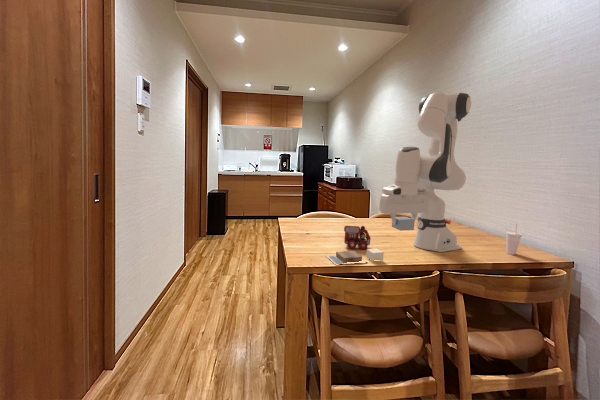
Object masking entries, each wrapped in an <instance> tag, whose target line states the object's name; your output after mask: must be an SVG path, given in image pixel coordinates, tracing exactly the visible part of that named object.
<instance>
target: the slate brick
mask: <svg viewBox="0 0 600 400" xmlns="http://www.w3.org/2000/svg"><path fill="white" fill-rule="evenodd" d="M395 219H396V220H398V224H397V225H393V224H392V223H391V227H392V229H393V228H394V229H396V230H397V231H414V230H415V221H416V219H415V220H414V219H411V217H408V216H395Z"/></svg>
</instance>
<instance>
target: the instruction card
mask: <svg viewBox="0 0 600 400" xmlns="http://www.w3.org/2000/svg"><path fill="white" fill-rule="evenodd" d="M325 258H326V259H328V260H329V259H330V260H331V261H332V262H333V263H334V265H335V264H342V263H343V262H342V261H341V260H340V259H339V258H337V257H336V254H332V255H325ZM330 260H329V261H330ZM331 261H330V262H331ZM332 262H331V263H332ZM333 263H332V264H333ZM343 264H344V263H343Z"/></svg>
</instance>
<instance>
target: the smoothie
mask: <svg viewBox="0 0 600 400" xmlns="http://www.w3.org/2000/svg"><path fill="white" fill-rule="evenodd" d="M517 227H518V224H515V228H514V231H505V235H506V236H505V240H506V243H505V244H506V245H505V246H506V247H505V248H506V254H508V255H511V256H512V255H513V256H515V255H517V252H518V248H519V245H520V241H521V238H522V237H523V234H522V233H520V232H517Z"/></svg>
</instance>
